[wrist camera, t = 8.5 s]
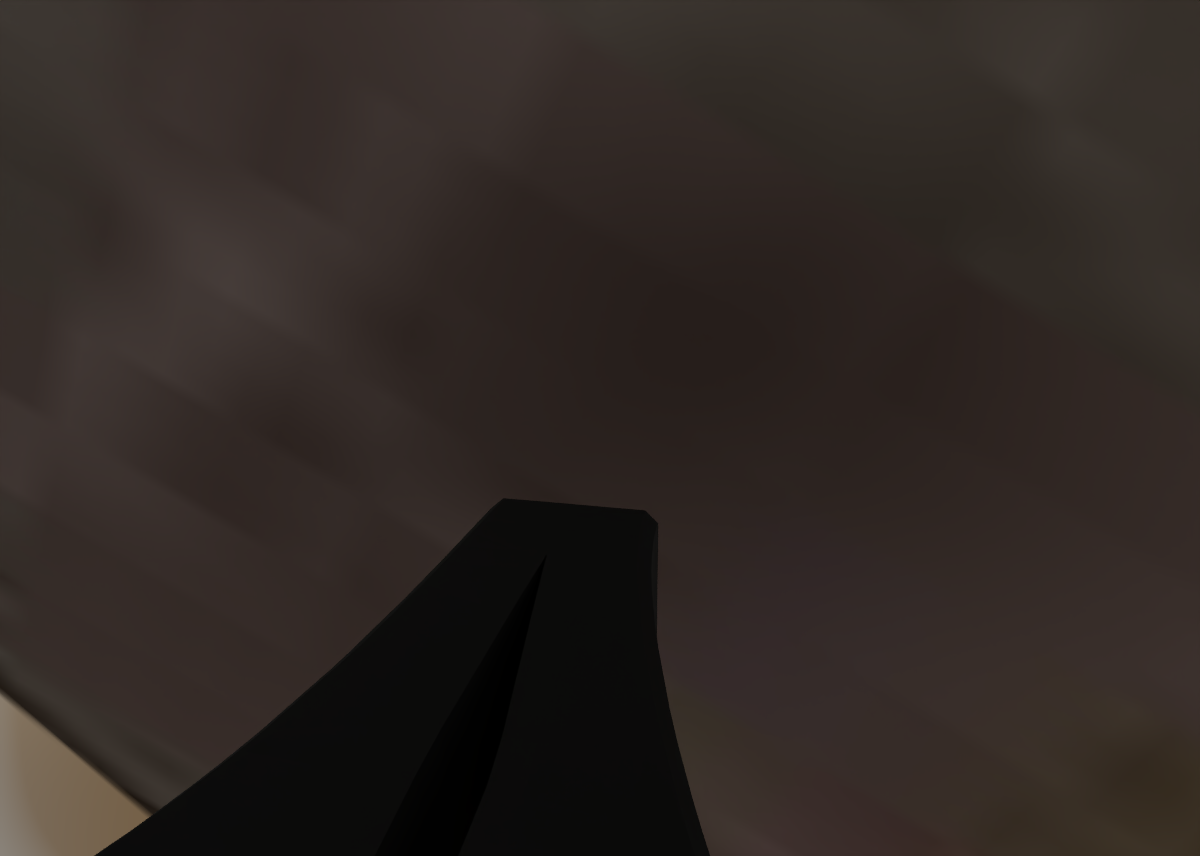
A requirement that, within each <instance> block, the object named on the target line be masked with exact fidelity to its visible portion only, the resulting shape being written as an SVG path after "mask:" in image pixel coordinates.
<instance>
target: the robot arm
mask: <svg viewBox="0 0 1200 856" xmlns="http://www.w3.org/2000/svg"><path fill="white" fill-rule="evenodd" d="M657 570H658V523H657V522H656V521H655V520H654V519H653V518H652V517H651V516H650V515H649V514H648V513H647V512H646V511H644V510H633V509H621V508H610V507H598V506H586V505H575V504H563V503H552V502H540V501H529V500H517V499H506V498H503V499H502V500H501V501H500V502H498V503H497V504H496V505H495V506H493V507H492V508H491V509H490V510H489V511H488V512H487V513H486V514H485V515H484V516H483V517H482V519H481V520H480V521H479V522H478V523H477V524H476V525H475V526H474V527H473V528H472V529H471V530H470V531H469V532H468V533H467V534H466V536H465V537H464V538H463V539H462V540H461V541H460V542H459V543H458V544H457V545H456V546H455V547H454V548H453V549H452V550H451V551H450V553H449V554H448V555H447V556H446V557H445V558H444V559H443V560H442V561H441V562H440V563H439V564H438V565H437V566H436V567H435V568H434V569H433V570H432V571H431V572H430V573H429V574H428V575H427V576H426V577H425V578H424V579H423V580H422V581H421V583H420V584H419V585H418V586H417V587H416V588H415V589H414V590H413V591H412V592H411V593H410V594H409V595H408V596H407V597H406V598H405V599H404V600H403V601H402V602H401V603H400V604H399V605H398V606H397V607H396V608H395V609H394V610H392V611H391V612H390V613H389V614H388V615H387V616H386V617H385V618H384V619H383V620H382V621H381V622H380V623H379V624H378V625H377V626H376V627H375V628H374V629H373V630H372V631H371V632H370V633H369V634H368V635H367V636H366V637H365V638H364V639H363V640H362V641H360V642H359V643H358V644H357V645H356V646H355V647H354V648H353V649H352V650H351V651H350V652H349V653H348V654H347V655H346V656H345V657H344V658H343V659H342V660H341V661H339V662H338V663H337V664H336V665H335V666H334V667H333V668H332V669H331V670H330V671H328V672H327V673H326V674H325V675H324V676H323V677H322V678H320V679H319V680H318V681H317V682H316V683H315V684H314V685H312V686H311V687H310V688H309V689H308V690H307V691H306V692H304V693H303V694H302V695H301V696H300V697H299V698H298V699H296V700H295V701H294V702H293V703H292V704H291V705H290V706H288V707H287V708H286V709H285V710H284V711H283V712H282V713H280V714H279V715H278V716H277V717H276V718H275V719H274V720H272V721H271V722H270V723H269V724H268V725H267V726H266V727H264V728H263V729H262V730H261V731H260V732H259V733H257V734H256V735H255V736H254V737H253V738H251V739H250V740H249V741H248V742H246V743H245V744H244V745H243V746H241V747H240V748H239V749H238V750H237V751H235V752H234V753H233V754H232V755H230V756H229V757H228V758H227V759H225V760H224V761H223V762H222V763H220V764H219V765H218V766H217V767H215V768H214V769H213V770H211V771H210V772H209V773H208V774H206V775H205V776H204V777H202V778H201V779H200V780H199V781H197V782H196V783H195V784H193V785H192V786H191V787H189V788H188V789H187V790H185V791H184V792H183V793H181V794H180V795H179V796H177V797H176V798H175V799H173V800H172V801H171V802H169V803H168V804H167V805H165V806H164V807H163V808H161V809H160V810H159V811H157V812H156V813H155V814H153V815H152V816H151V817H149V818H148V819H146V820H145V821H144V822H142V823H141V824H140V825H138V826H137V827H135V828H134V829H133V830H131V831H130V832H128V833H127V834H125V835H124V836H123V837H121V838H119V839H118V840H117V841H115V842H114V843H112V844H111V845H109V846H108V847H106V848H105V849H103V850H102V851H100V852H99V853H98V854H96V855H95V856H710V854H709V851H708V848H707V845H706V842H705V839H704V835H703V832H702V829H701V826H700V823H699V819H698V816H697V812H696V809H695V806H694V802H693V799H692V795H691V792H690V788H689V784H688V780H687V777H686V773H685V769H684V765H683V762H682V758H681V754H680V751H679V747H678V743H677V739H676V734H675V730H674V726H673V721H672V717H671V713H670V708H669V703H668V698H667V692H666V687H665V682H664V676H663V671H662V666H661V660H660V655H659V650H658V643H657Z"/></svg>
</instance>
